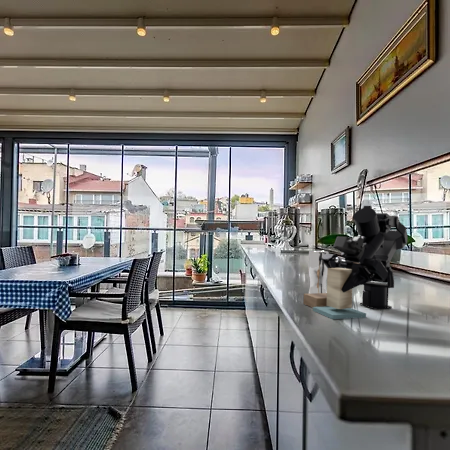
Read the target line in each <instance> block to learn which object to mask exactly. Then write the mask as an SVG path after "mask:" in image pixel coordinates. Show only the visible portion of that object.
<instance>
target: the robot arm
mask: <svg viewBox="0 0 450 450" xmlns="http://www.w3.org/2000/svg"><path fill="white" fill-rule="evenodd" d="M372 207H373V206H372V205H363V208H360V209H358V210H356V211H355V213H353V215H352V218H353V221H354V224H355V228H356V231H357V234H358V236H354V237H350V236H349V237H348V236H336V238H335V241H334V243H333V249H335V250H338V251H339V252H340V253H341V254H340V256H341V257H342V258H344V259H341V258H340V257H339V256H338V255H337V254H332V253H329V254H324V256H323V257H322V258H321V260H322V261H323V263H324V264H325V265H326V267H327V268H345V269H352V272H351V274H350V276H349V277H348V279H347V280H346V282H345V283H344V285H343V287H342V289H341V290H342V291H343V292H346V291H348V290H350V289H352V290H353V289H354V288H356V287H358V286H363V289H362V298H361V299H362V302H359V305H361V306H363V307H367V308H370V309H373V310H377V309H379V310H382V309H393V306H392V305H389V289H394V288H395V278H394V272H393V270H392V267H391V266H390V265H391V264H390V263H391V261H392V258H393V256H394V255H395V253H396V251H397V250H398V251H399V250H401V249H404V247H405V246H406V245H407V244H408V239H409V238H408V233H407V232H408V231H407V228H406V226H405V225H404V224H403V223H402V222H400V218H399V216H398V215H390V214H389V213H388V212H387V213H386V212H377V211H376V210H375V209H373V208H372ZM391 228H395V229H391Z"/></svg>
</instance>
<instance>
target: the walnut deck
mask: <svg viewBox="0 0 450 450" xmlns="http://www.w3.org/2000/svg"><path fill="white" fill-rule="evenodd" d="M302 304H303V305H306V306H308V307H310V308H312V309H313V307H326V306H327V292H326V293H312V294H309V293H303V303H302Z"/></svg>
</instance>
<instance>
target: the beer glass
mask: <svg viewBox="0 0 450 450" xmlns="http://www.w3.org/2000/svg"><path fill="white" fill-rule="evenodd" d="M324 254H330V253H329V251H327V250H309V251H308V259H307V268H308V276H309V290H308V294H312V293H327V267H326V265H325V264H324V263H323V261H322V260H321V258H322V257H323V256H324Z"/></svg>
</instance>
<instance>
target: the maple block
mask: <svg viewBox="0 0 450 450" xmlns="http://www.w3.org/2000/svg"><path fill="white" fill-rule="evenodd" d="M351 272H352V269H346V268H327V279H326V293H327V306H330V307H333V308H337V309H346V308H352V309H353V288H352V289H350V290H348V291H346V292H343V291H342V290H341V289H342V287H343V285H344V283H345V282H346V280H347V279H348V277H349V276H350V274H351Z"/></svg>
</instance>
